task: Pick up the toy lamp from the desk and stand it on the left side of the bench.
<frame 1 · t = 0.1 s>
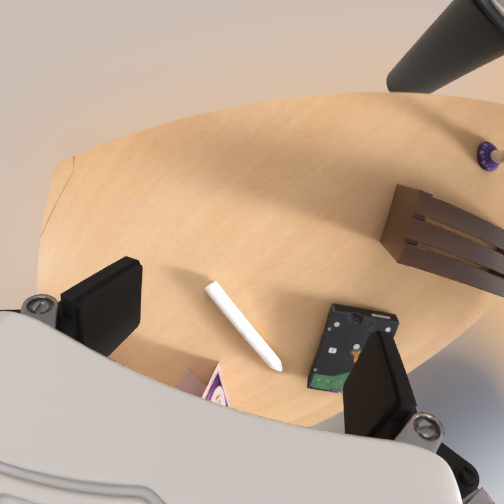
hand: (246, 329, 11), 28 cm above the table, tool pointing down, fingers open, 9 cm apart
toy lamp: (485, 156, 28), on the table
disk drive: (350, 347, 41), on the table
greeting card: (211, 383, 48), on the table
marker: (249, 327, 43), on the table
bench: (453, 237, 33), on the table
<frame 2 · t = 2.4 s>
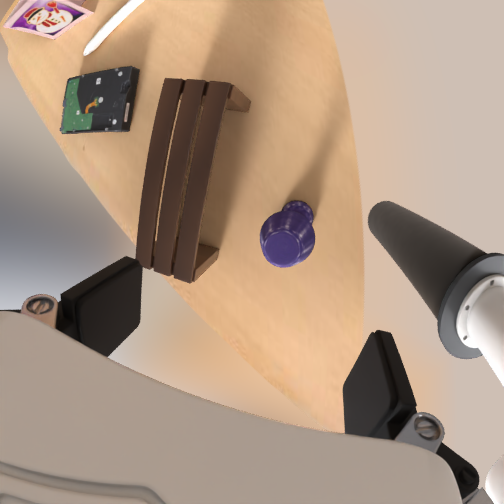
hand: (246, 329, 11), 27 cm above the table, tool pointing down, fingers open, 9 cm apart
toy lamp: (296, 213, 36), on the table
disk drive: (101, 103, 37), on the table
greeting card: (74, 17, 33), on the table
marker: (122, 20, 32), on the table
bench: (204, 175, 37), on the table
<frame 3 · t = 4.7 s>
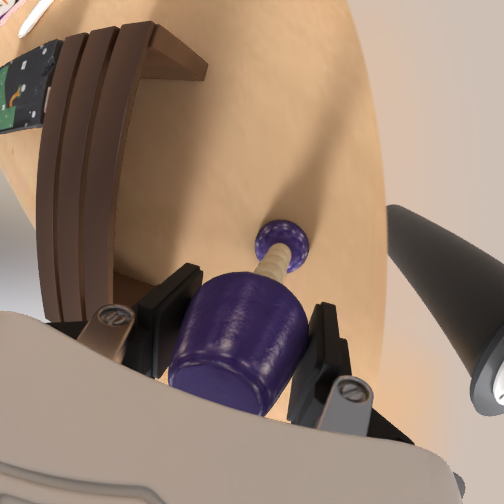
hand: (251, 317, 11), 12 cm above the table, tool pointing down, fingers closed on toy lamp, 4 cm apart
toy lamp: (281, 241, 23), on the table, touching gripper
disk drive: (30, 92, 23), on the table
bench: (141, 182, 23), on the table
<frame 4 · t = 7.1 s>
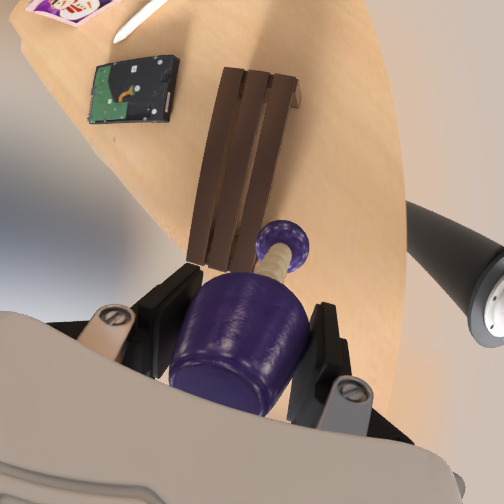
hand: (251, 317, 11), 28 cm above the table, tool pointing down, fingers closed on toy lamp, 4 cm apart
toy lamp: (282, 241, 23), point 16 cm above the table, touching gripper
disk drive: (135, 92, 36), on the table
greeting card: (99, 4, 32), on the table
marker: (156, 8, 31), on the table
bench: (253, 170, 37), on the table
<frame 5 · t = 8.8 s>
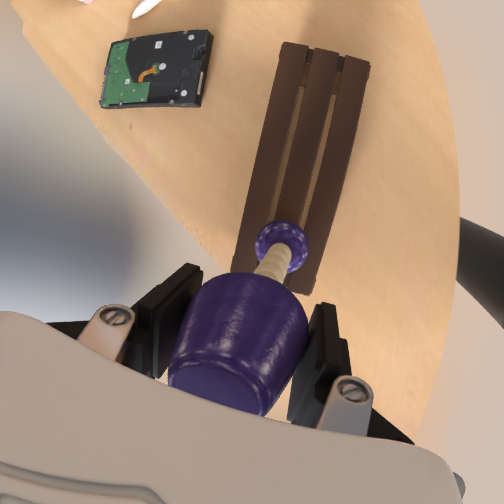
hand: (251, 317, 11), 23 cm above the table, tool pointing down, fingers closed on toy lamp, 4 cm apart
toy lamp: (281, 241, 23), point 11 cm above the table, touching gripper
disk drive: (157, 73, 31), on the table
bench: (302, 166, 31), on the table
when the fingers open (21 cm above the table, at t = 9.9 s): toy lamp stays where it is, resting on bench.
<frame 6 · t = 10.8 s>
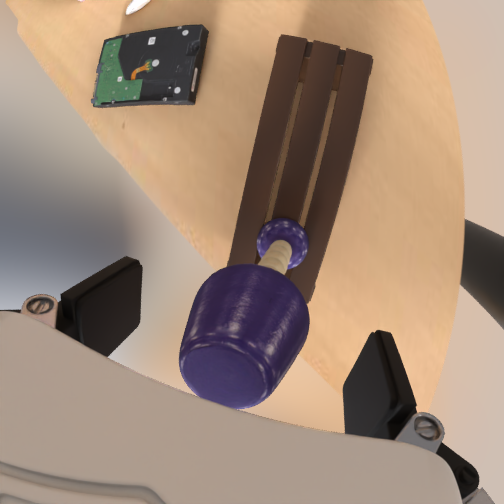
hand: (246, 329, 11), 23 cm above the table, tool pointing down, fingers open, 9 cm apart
toy lamp: (282, 238, 23), point 9 cm above the table, touching bench
disk drive: (151, 70, 29), on the table
bench: (301, 166, 30), on the table
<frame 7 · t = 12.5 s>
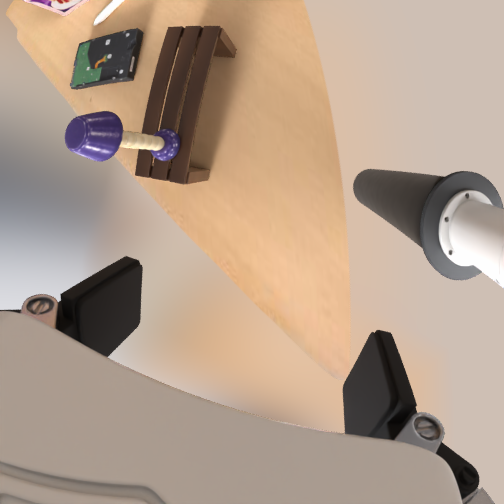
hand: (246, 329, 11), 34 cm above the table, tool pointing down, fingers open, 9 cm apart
toy lamp: (166, 142, 34), point 9 cm above the table, touching bench
disk drive: (108, 61, 40), on the table
bench: (197, 108, 40), on the table
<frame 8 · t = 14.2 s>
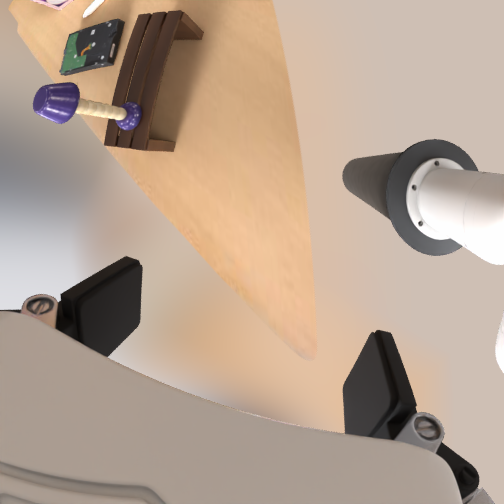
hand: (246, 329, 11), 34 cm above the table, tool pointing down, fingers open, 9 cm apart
toy lamp: (130, 114, 34), point 9 cm above the table, touching bench
disk drive: (94, 49, 40), on the table
bench: (166, 87, 41), on the table
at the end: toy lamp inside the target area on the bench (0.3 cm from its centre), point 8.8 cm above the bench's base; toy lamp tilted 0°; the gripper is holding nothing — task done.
